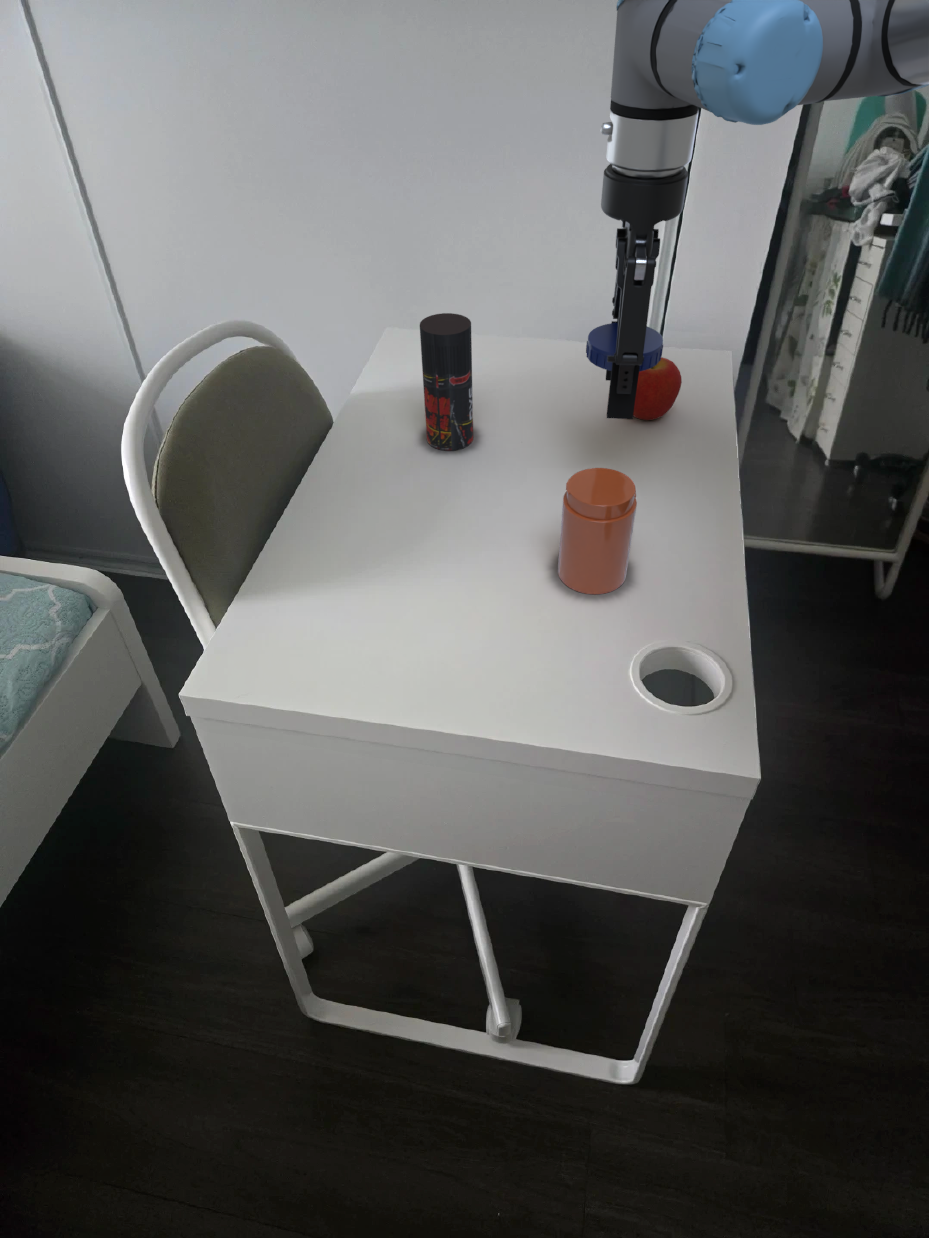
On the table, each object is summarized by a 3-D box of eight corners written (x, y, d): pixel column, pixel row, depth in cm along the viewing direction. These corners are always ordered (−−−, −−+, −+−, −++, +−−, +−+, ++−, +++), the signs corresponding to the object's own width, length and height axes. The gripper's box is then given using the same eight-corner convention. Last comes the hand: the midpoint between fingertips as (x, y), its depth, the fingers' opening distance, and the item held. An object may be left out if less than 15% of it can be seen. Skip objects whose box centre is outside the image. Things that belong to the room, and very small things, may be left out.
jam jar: (615, 547, 86) (627, 462, 79) (634, 590, 81) (648, 504, 74) (551, 554, 86) (557, 469, 79) (566, 598, 81) (573, 511, 74)
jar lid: (600, 377, 82) (602, 359, 80) (576, 344, 87) (577, 327, 86) (673, 367, 83) (676, 349, 82) (644, 335, 88) (646, 318, 87)
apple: (667, 398, 110) (676, 343, 104) (682, 428, 104) (692, 371, 99) (610, 401, 109) (617, 346, 104) (622, 431, 104) (629, 374, 98)
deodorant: (425, 428, 105) (418, 314, 95) (471, 425, 106) (468, 311, 95) (428, 452, 101) (420, 336, 91) (475, 449, 101) (473, 333, 91)
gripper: (603, 135, 80) (584, 354, 96) (605, 201, 66) (583, 446, 81) (680, 136, 80) (648, 356, 95) (700, 202, 65) (659, 449, 81)
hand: (618, 397), depth 88 cm, fingers closed on jar lid, 8 cm apart
